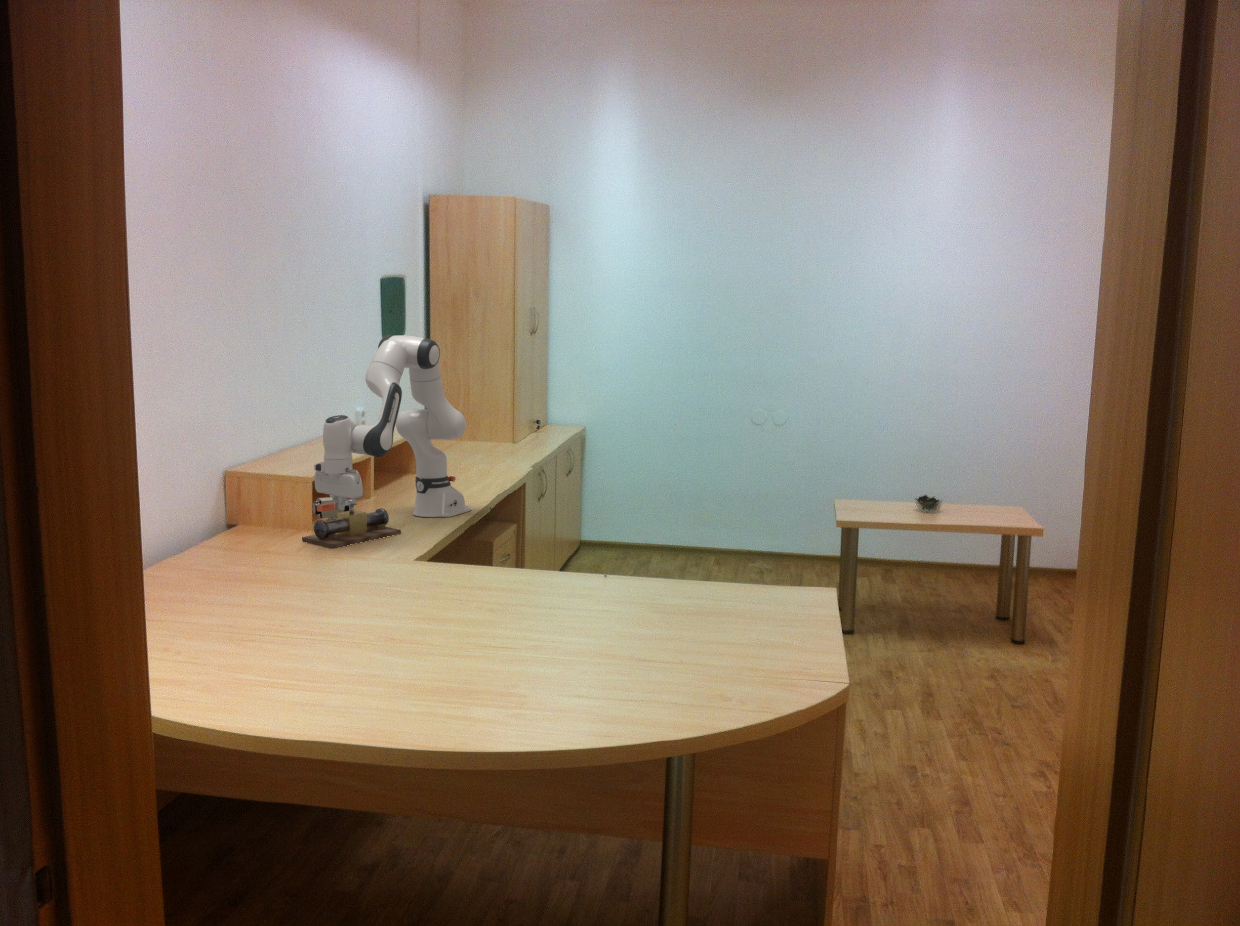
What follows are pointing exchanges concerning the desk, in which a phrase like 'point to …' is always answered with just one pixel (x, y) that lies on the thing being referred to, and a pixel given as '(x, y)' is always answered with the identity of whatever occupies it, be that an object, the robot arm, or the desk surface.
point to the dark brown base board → (352, 537)
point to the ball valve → (350, 523)
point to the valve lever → (330, 505)
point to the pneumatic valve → (327, 514)
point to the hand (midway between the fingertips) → (339, 509)
